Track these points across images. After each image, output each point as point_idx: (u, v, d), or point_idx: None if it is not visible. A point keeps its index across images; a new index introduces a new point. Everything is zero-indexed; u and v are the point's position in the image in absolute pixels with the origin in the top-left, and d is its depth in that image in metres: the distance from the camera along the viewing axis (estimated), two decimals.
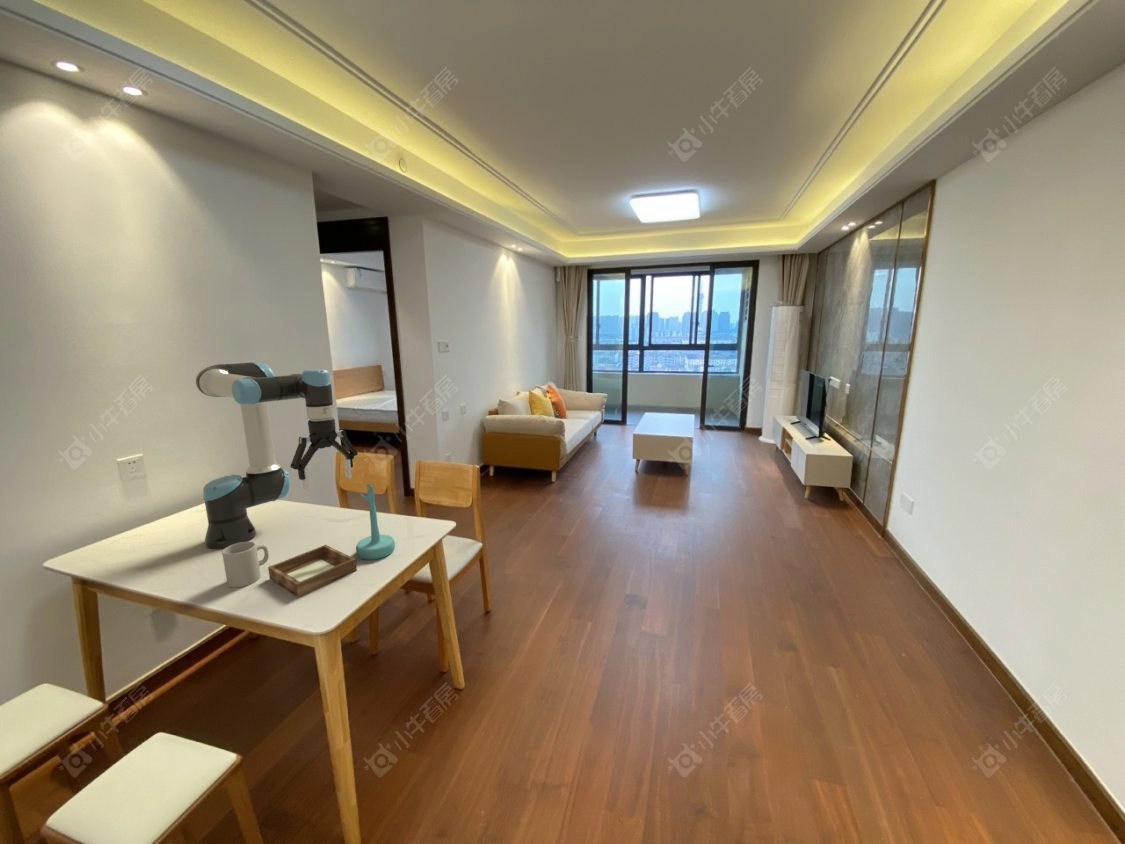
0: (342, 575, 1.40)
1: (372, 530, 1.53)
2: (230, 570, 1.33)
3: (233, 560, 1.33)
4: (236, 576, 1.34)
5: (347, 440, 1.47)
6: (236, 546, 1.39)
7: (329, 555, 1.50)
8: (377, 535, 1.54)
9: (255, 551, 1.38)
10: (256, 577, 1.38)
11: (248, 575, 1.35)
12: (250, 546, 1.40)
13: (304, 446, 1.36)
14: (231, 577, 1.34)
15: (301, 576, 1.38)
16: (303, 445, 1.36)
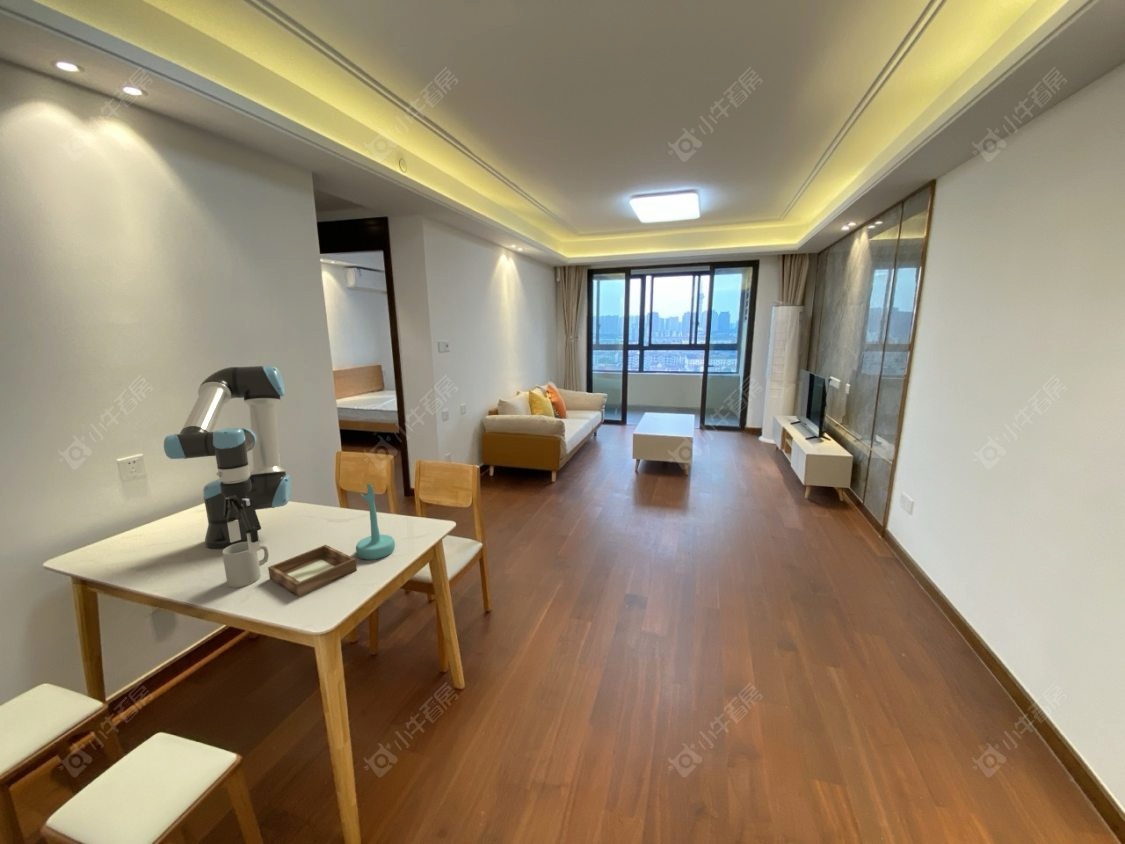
0: (342, 575, 1.40)
1: (372, 530, 1.53)
2: (230, 570, 1.33)
3: (233, 560, 1.33)
4: (236, 576, 1.34)
5: (244, 512, 1.30)
6: (236, 546, 1.39)
7: (329, 555, 1.50)
8: (377, 535, 1.54)
9: None
10: (256, 577, 1.38)
11: (248, 575, 1.35)
12: None
13: (225, 500, 1.37)
14: (231, 577, 1.34)
15: (301, 576, 1.38)
16: (224, 499, 1.38)
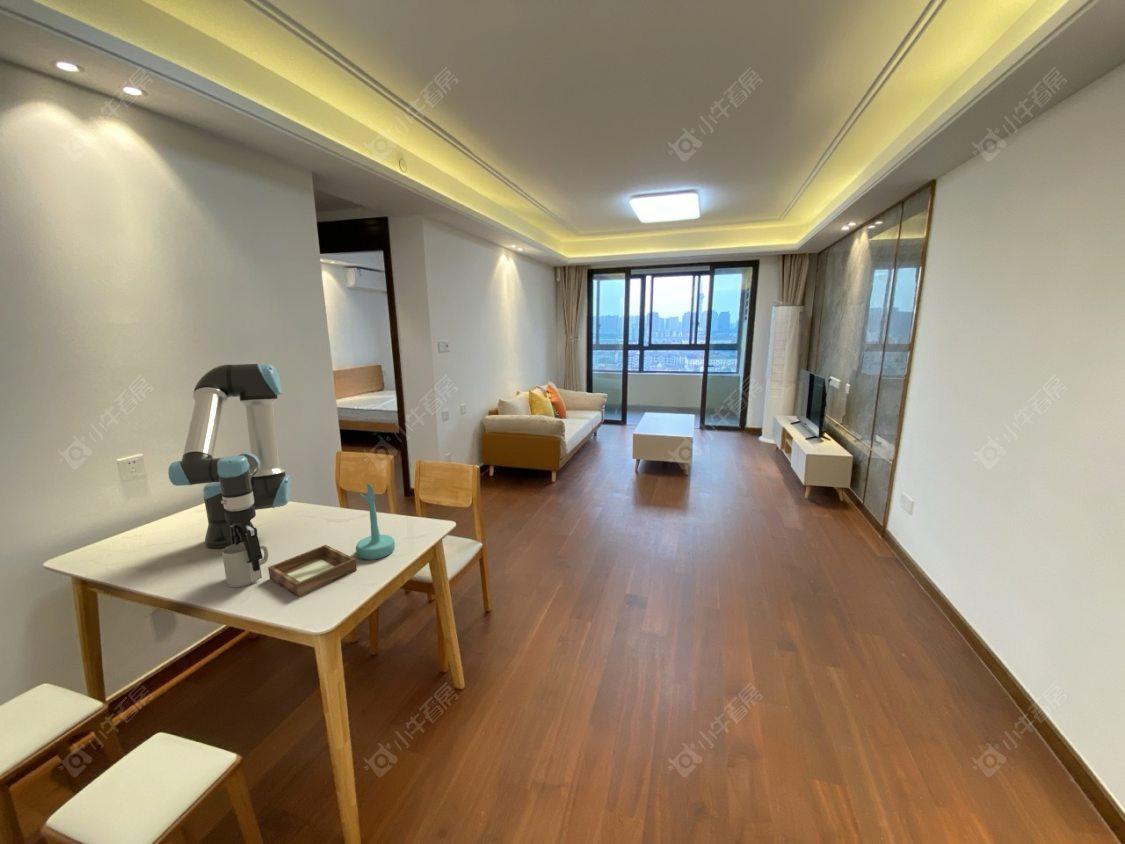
0: (342, 575, 1.40)
1: (372, 530, 1.53)
2: (229, 570, 1.33)
3: (233, 559, 1.33)
4: (236, 576, 1.34)
5: (248, 541, 1.33)
6: (236, 546, 1.39)
7: (329, 555, 1.50)
8: (377, 535, 1.54)
9: None
10: None
11: (248, 575, 1.35)
12: None
13: (230, 528, 1.39)
14: (231, 577, 1.34)
15: (301, 576, 1.38)
16: (230, 528, 1.39)
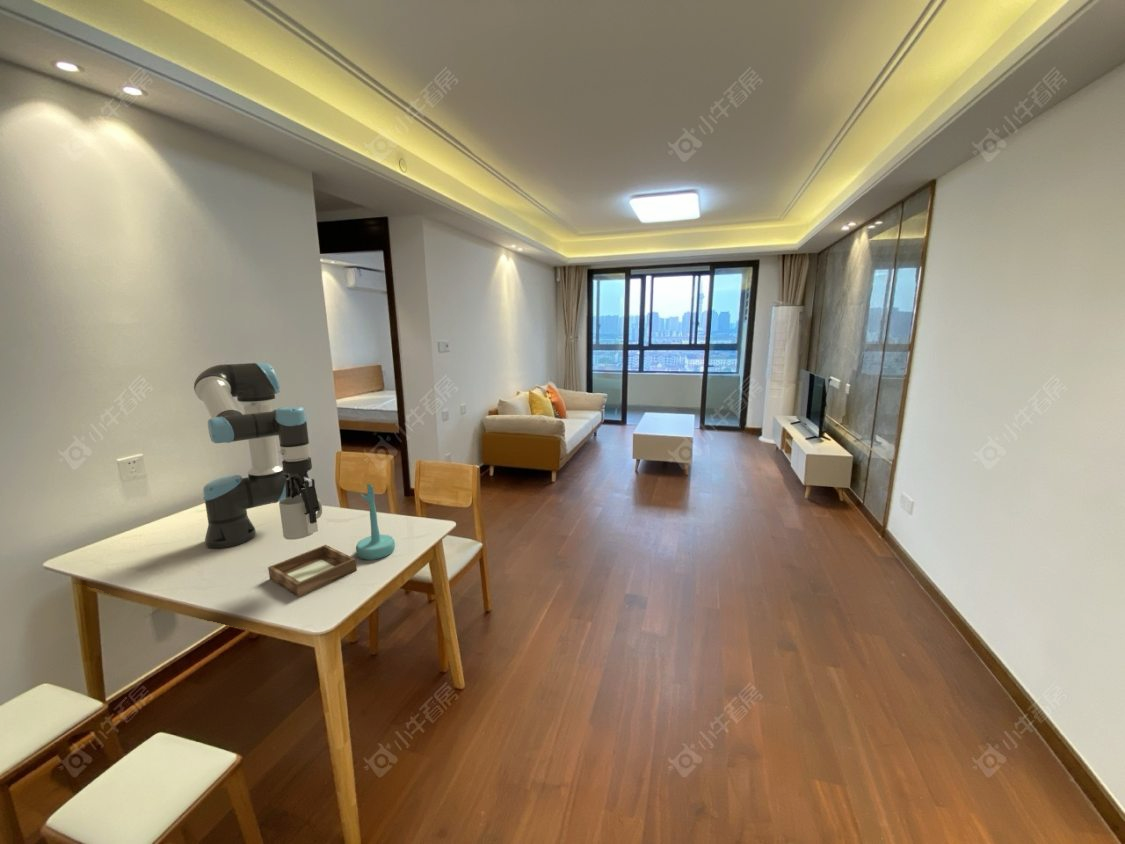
0: (342, 575, 1.40)
1: (372, 530, 1.53)
2: (287, 521, 1.31)
3: (291, 510, 1.31)
4: (293, 527, 1.32)
5: (306, 492, 1.31)
6: (291, 499, 1.37)
7: (329, 555, 1.50)
8: (377, 535, 1.54)
9: None
10: None
11: (304, 527, 1.34)
12: None
13: (286, 481, 1.38)
14: (288, 528, 1.32)
15: (301, 576, 1.38)
16: (285, 481, 1.38)
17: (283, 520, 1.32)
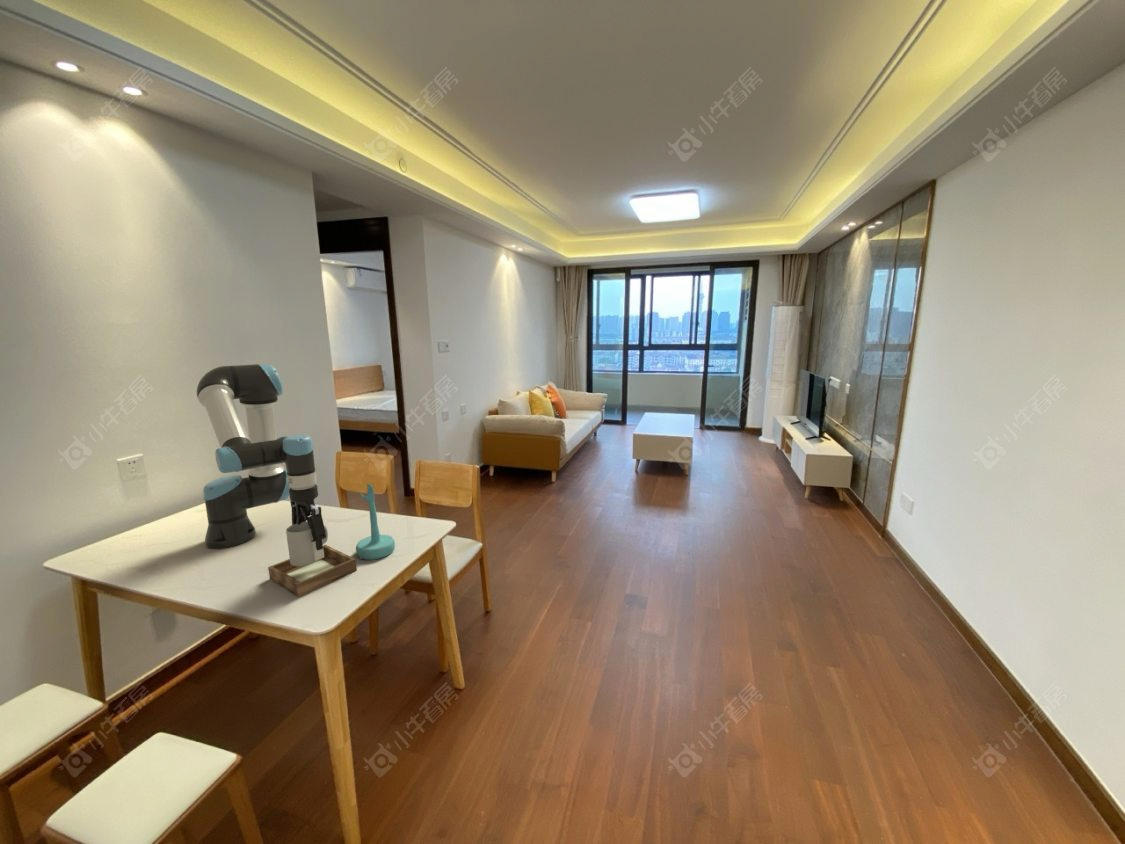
0: (342, 575, 1.40)
1: (372, 530, 1.53)
2: (294, 548, 1.33)
3: (298, 538, 1.33)
4: (300, 554, 1.34)
5: (313, 520, 1.33)
6: (297, 526, 1.39)
7: (329, 555, 1.50)
8: (377, 535, 1.54)
9: None
10: None
11: (311, 554, 1.36)
12: None
13: (292, 508, 1.40)
14: (295, 556, 1.34)
15: (301, 576, 1.38)
16: (292, 508, 1.40)
17: (290, 547, 1.34)
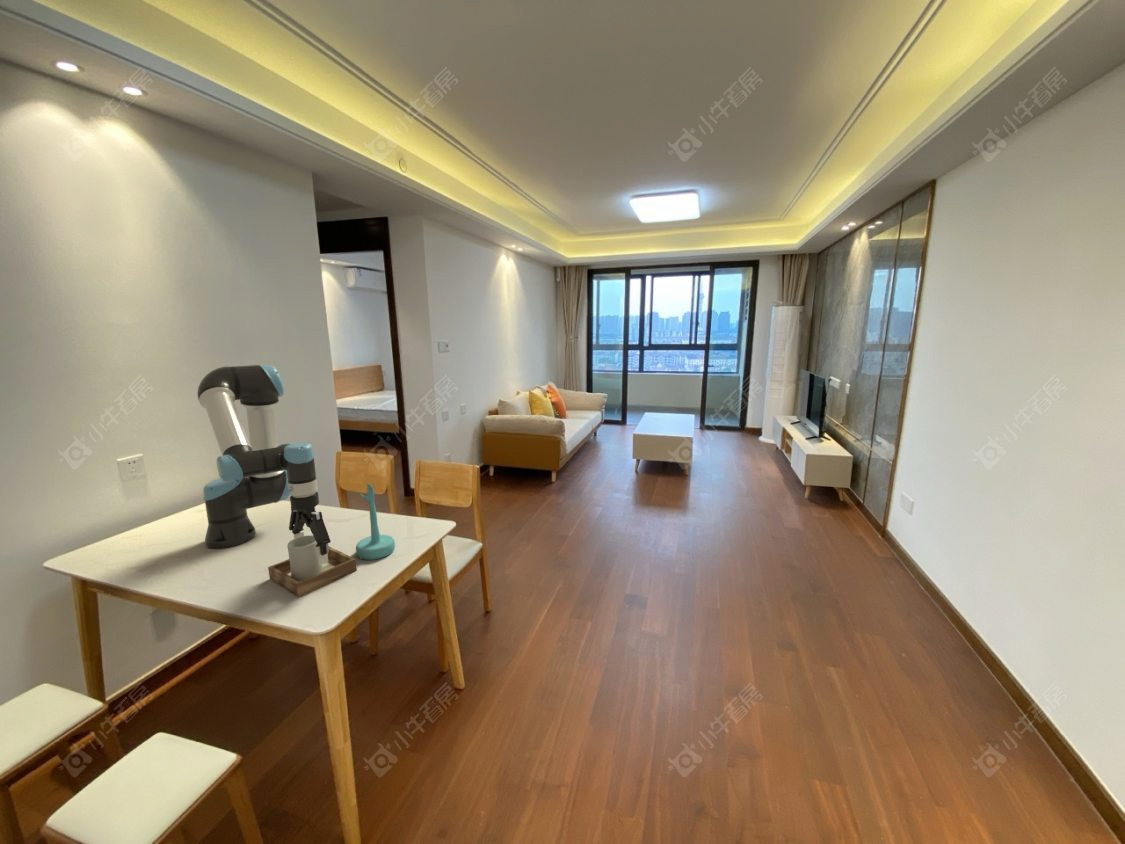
0: (342, 575, 1.40)
1: (372, 530, 1.53)
2: (295, 563, 1.35)
3: (299, 553, 1.34)
4: (301, 569, 1.35)
5: (315, 525, 1.33)
6: (299, 540, 1.40)
7: (329, 555, 1.50)
8: (377, 535, 1.54)
9: None
10: (319, 570, 1.39)
11: (312, 568, 1.37)
12: (312, 540, 1.42)
13: (292, 513, 1.40)
14: (296, 570, 1.35)
15: None
16: (291, 512, 1.40)
17: (291, 562, 1.35)
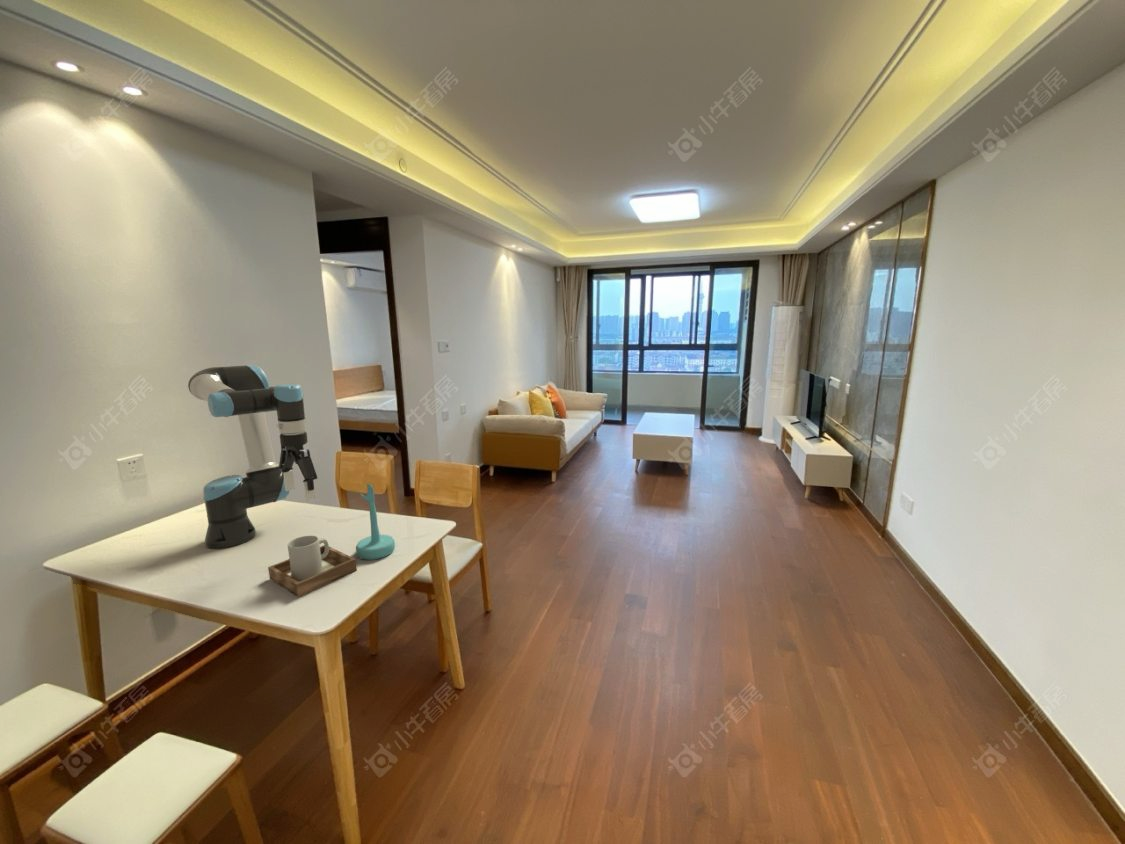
0: (342, 575, 1.40)
1: (372, 530, 1.53)
2: (295, 563, 1.35)
3: (299, 553, 1.34)
4: (301, 569, 1.35)
5: (303, 462, 1.40)
6: (299, 540, 1.40)
7: (329, 555, 1.50)
8: (377, 535, 1.54)
9: (318, 545, 1.39)
10: (319, 570, 1.39)
11: (313, 568, 1.37)
12: (312, 540, 1.42)
13: (282, 451, 1.48)
14: (297, 570, 1.35)
15: None
16: (281, 450, 1.48)
17: (292, 562, 1.35)
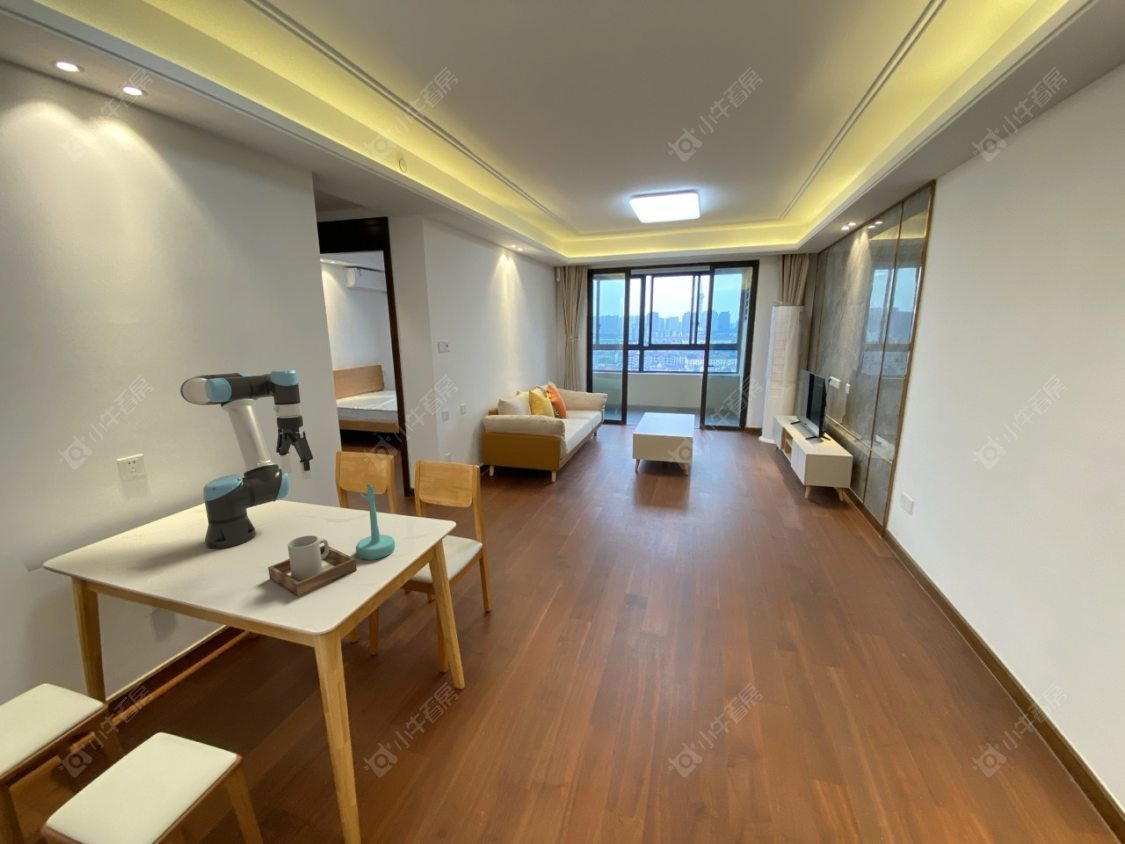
0: (342, 575, 1.40)
1: (372, 530, 1.53)
2: (295, 563, 1.35)
3: (299, 553, 1.34)
4: (301, 569, 1.35)
5: (299, 443, 1.47)
6: (299, 540, 1.40)
7: (329, 555, 1.50)
8: (377, 535, 1.54)
9: (318, 545, 1.39)
10: (319, 570, 1.39)
11: (313, 568, 1.37)
12: (312, 540, 1.42)
13: (278, 435, 1.54)
14: (297, 570, 1.35)
15: None
16: (278, 434, 1.54)
17: (292, 562, 1.35)
